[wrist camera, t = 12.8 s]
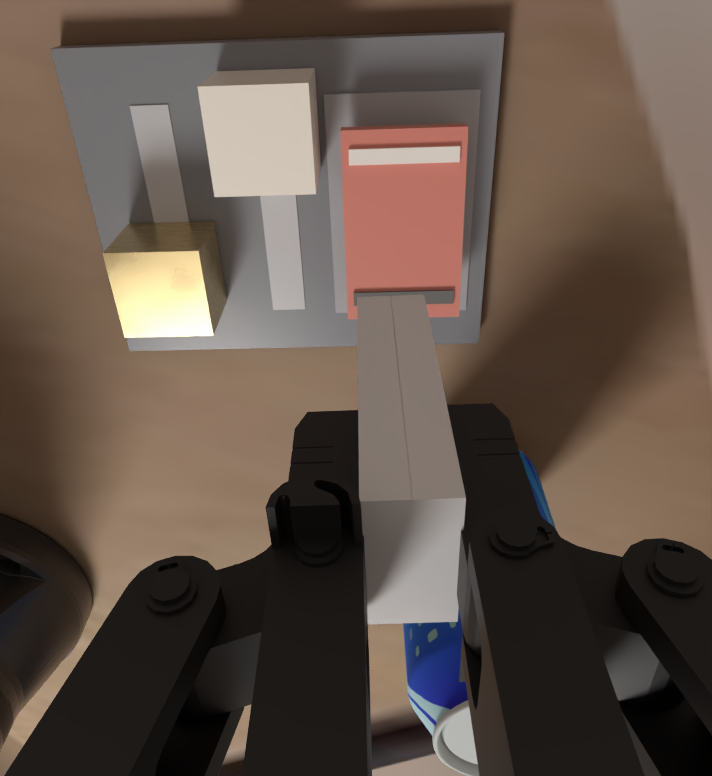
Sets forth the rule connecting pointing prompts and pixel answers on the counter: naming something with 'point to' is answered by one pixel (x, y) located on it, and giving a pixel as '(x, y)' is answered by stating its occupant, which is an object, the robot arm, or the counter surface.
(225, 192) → the ivory slider
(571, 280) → the counter surface
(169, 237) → the brass slider
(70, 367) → the counter surface
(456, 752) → the beer can
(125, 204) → the panel
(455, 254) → the block
